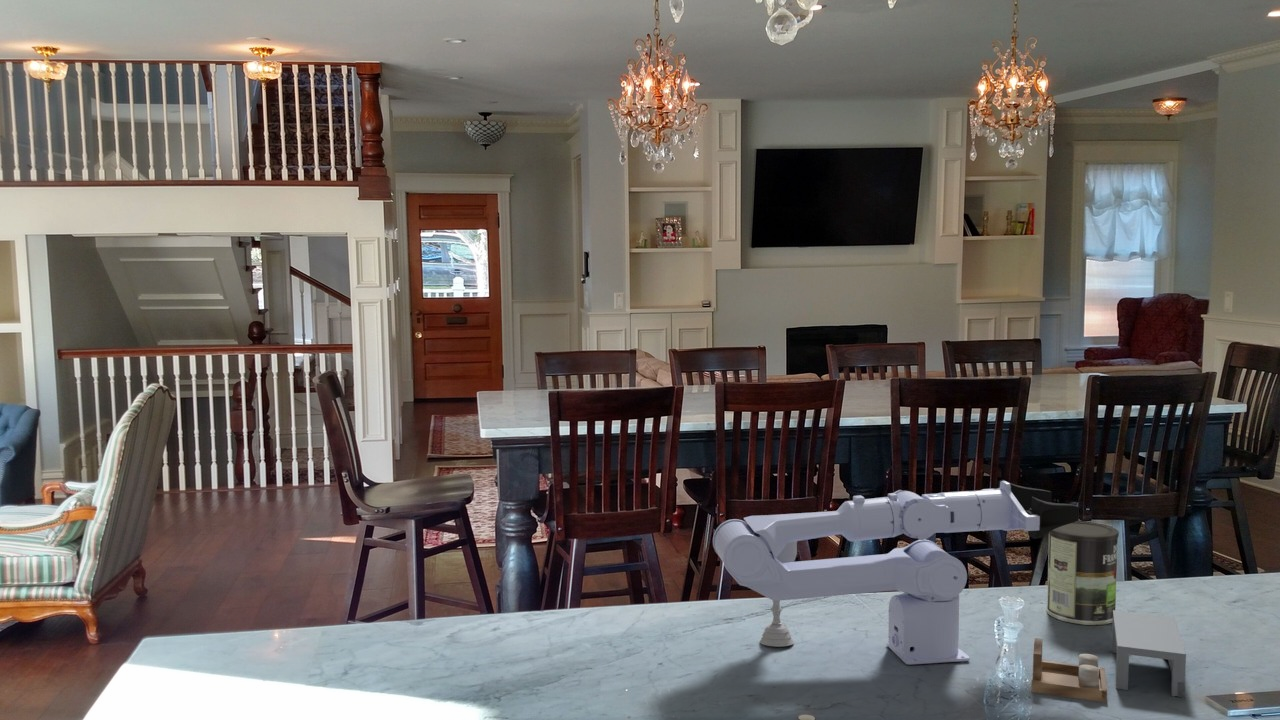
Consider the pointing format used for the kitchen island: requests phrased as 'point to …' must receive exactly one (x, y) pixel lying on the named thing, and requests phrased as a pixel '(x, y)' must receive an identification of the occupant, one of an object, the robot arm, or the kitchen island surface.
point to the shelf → (1148, 645)
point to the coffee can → (1082, 573)
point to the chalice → (776, 631)
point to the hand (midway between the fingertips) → (1063, 505)
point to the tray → (1069, 677)
